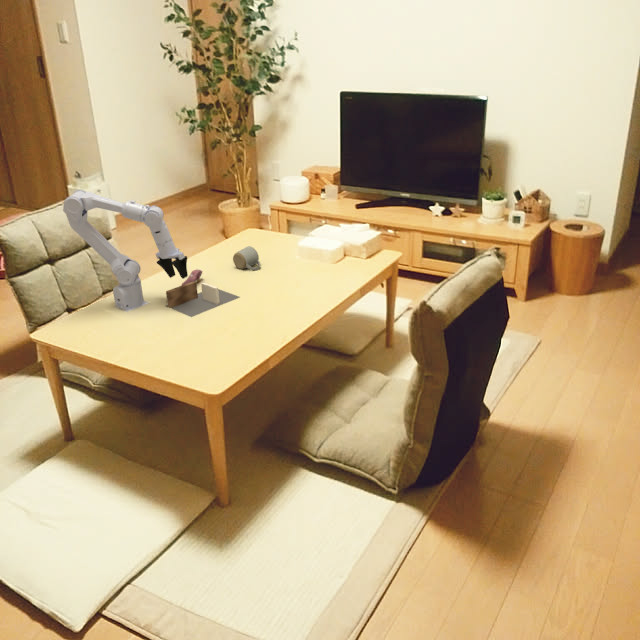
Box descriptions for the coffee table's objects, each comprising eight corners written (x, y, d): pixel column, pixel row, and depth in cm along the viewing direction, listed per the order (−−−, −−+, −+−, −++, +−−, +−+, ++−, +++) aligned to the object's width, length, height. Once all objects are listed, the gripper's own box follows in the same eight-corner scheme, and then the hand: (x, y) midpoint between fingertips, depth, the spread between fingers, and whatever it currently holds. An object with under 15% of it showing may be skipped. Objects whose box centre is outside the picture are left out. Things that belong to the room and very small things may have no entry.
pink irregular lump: (190, 293, 250) (196, 278, 247) (179, 287, 250) (185, 272, 247) (200, 283, 259) (206, 269, 256) (189, 278, 259) (195, 263, 256)
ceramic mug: (232, 268, 269) (230, 250, 266) (245, 262, 275) (244, 244, 272) (251, 273, 264) (250, 255, 260) (265, 267, 270) (264, 249, 266)
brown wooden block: (170, 308, 233) (168, 292, 230) (168, 307, 233) (165, 291, 231) (197, 297, 240) (196, 282, 238) (195, 296, 241) (193, 281, 239)
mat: (191, 318, 225) (191, 316, 225) (165, 307, 235) (165, 305, 235) (240, 298, 240) (240, 297, 240) (214, 288, 249) (213, 287, 249)
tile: (217, 304, 234) (215, 288, 232) (202, 298, 239) (201, 283, 237) (220, 303, 235) (218, 287, 233) (205, 297, 240) (204, 282, 238)
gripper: (185, 236, 225) (199, 272, 231) (161, 236, 235) (175, 271, 241) (168, 245, 221) (184, 281, 226) (145, 244, 231) (160, 279, 236)
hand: (178, 276), depth 233 cm, fingers open, 7 cm apart
